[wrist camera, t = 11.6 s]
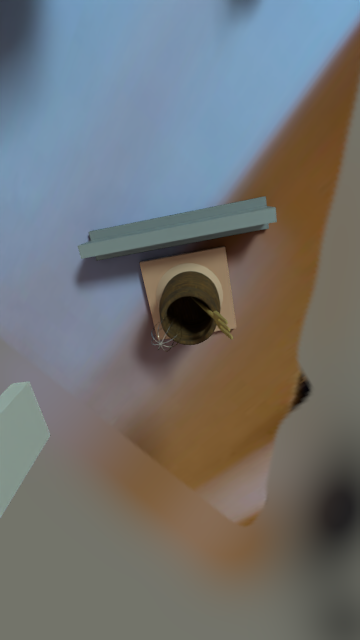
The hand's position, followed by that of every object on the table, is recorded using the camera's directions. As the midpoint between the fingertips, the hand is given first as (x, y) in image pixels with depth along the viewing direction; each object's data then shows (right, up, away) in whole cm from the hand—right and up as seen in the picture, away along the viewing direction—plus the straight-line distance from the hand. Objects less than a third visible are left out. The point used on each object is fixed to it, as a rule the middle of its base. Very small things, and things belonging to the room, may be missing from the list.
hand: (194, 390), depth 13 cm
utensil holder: (+1, +5, +22) cm, 23 cm away
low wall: (-1, +12, +20) cm, 24 cm away
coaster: (+1, +6, +23) cm, 24 cm away
